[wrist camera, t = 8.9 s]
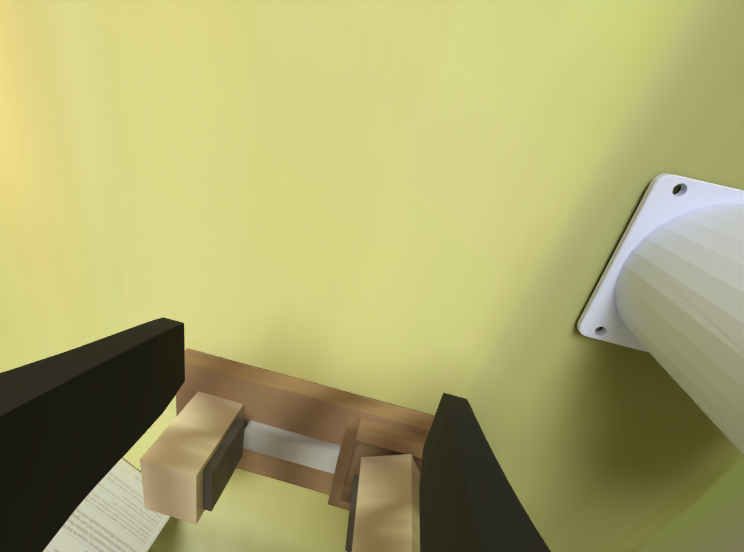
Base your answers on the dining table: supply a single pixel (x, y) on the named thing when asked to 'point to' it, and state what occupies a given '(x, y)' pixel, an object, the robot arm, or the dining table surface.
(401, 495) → the block
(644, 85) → the dining table surface
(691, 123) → the dining table surface
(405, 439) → the rail base
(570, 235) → the dining table surface
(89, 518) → the supplement box
